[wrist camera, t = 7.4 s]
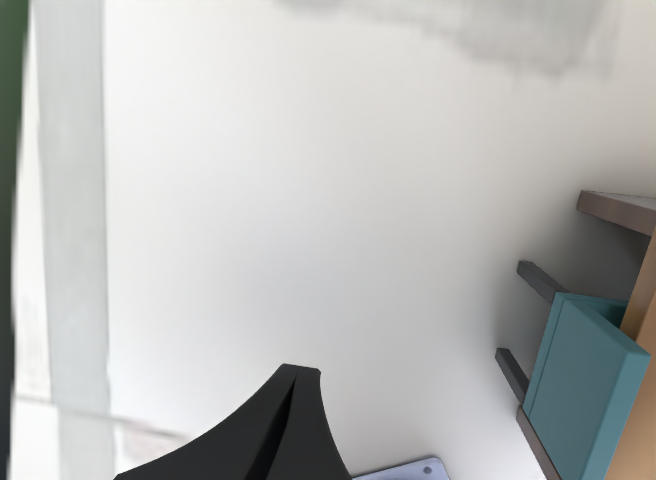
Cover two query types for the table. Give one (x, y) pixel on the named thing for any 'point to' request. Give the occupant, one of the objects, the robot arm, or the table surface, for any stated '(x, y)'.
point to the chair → (578, 378)
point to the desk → (638, 324)
